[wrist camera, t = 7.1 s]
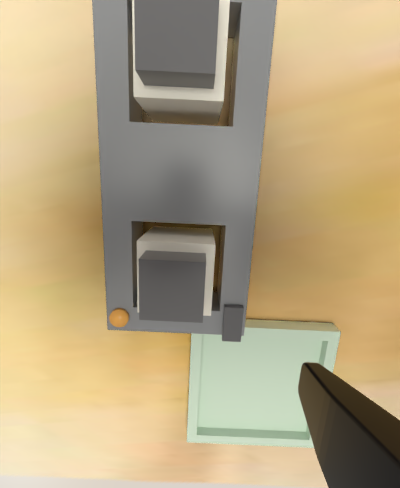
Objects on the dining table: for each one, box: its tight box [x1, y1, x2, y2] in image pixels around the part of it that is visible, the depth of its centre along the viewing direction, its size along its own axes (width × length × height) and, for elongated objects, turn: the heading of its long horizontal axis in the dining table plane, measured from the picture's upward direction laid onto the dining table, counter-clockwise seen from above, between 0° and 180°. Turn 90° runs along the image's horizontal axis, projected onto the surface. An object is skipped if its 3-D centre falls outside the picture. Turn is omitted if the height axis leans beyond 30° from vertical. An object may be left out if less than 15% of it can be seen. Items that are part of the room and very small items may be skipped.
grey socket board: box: [92, 0, 277, 342], centre depth 15 cm, size 9×20×3 cm, turn 177°
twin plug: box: [132, 0, 230, 125], centre depth 13 cm, size 4×4×6 cm
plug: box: [137, 226, 216, 323], centre depth 15 cm, size 4×4×6 cm
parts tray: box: [187, 319, 341, 448], centre depth 20 cm, size 11×11×1 cm
